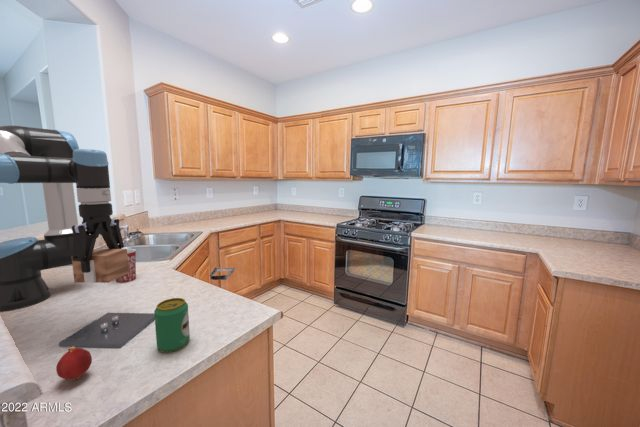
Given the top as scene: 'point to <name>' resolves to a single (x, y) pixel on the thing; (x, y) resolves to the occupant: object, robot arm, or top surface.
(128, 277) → the red patterned paper cup
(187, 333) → the beverage can
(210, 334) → the top surface
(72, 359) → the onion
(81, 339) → the boss plate
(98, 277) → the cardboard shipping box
